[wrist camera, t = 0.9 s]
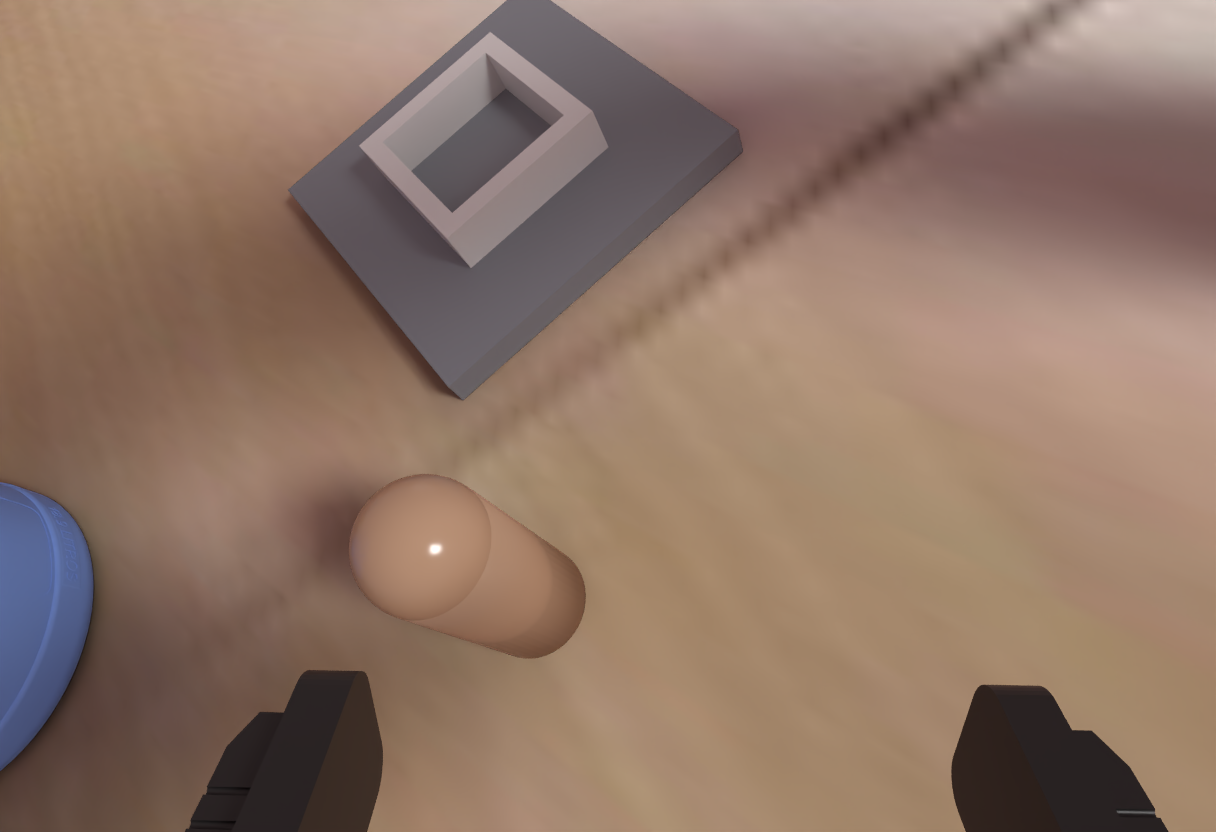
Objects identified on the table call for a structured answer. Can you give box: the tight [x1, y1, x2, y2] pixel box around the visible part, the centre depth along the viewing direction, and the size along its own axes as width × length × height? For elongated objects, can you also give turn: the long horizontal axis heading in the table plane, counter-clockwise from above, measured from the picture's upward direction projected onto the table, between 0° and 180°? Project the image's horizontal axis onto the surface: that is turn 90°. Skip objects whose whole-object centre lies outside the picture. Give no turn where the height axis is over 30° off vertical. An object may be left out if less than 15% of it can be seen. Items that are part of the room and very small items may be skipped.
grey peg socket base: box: [288, 0, 743, 400], centre depth 42 cm, size 18×18×4 cm
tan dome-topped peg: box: [349, 474, 586, 658], centre depth 29 cm, size 5×5×11 cm
